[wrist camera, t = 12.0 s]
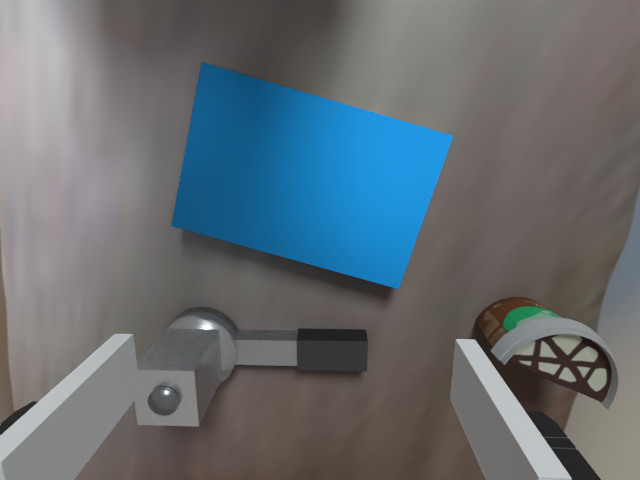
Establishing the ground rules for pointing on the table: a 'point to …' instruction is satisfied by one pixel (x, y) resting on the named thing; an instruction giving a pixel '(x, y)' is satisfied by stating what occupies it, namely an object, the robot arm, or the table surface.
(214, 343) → the grey block with knob
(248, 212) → the book
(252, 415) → the table surface
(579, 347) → the food container
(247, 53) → the table surface
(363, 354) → the ratchet
